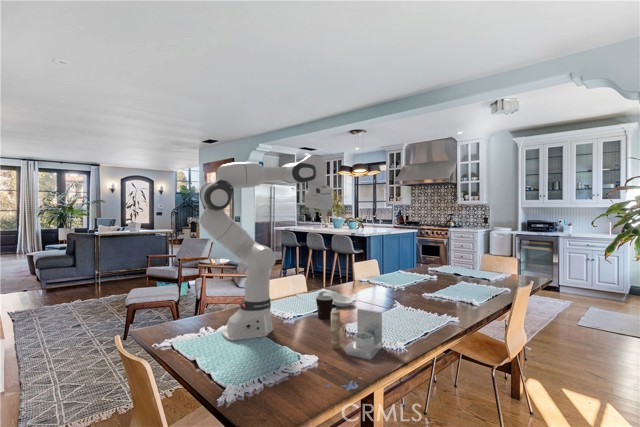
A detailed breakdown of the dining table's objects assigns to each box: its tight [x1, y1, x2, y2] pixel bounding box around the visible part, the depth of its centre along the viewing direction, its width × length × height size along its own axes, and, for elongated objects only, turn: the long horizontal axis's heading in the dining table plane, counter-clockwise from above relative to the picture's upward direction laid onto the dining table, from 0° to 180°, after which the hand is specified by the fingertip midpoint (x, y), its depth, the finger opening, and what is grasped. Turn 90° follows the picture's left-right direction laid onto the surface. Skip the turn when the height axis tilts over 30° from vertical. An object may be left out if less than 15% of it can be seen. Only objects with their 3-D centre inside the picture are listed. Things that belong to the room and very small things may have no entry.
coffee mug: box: [315, 294, 334, 321], centre depth 173 cm, size 12×9×10 cm
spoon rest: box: [317, 289, 354, 308], centre depth 195 cm, size 24×12×7 cm, turn 49°
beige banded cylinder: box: [330, 310, 341, 350], centre depth 136 cm, size 4×4×14 cm
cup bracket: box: [345, 308, 383, 361], centre depth 132 cm, size 12×10×14 cm
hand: (318, 217), depth 165 cm, fingers open, 8 cm apart
